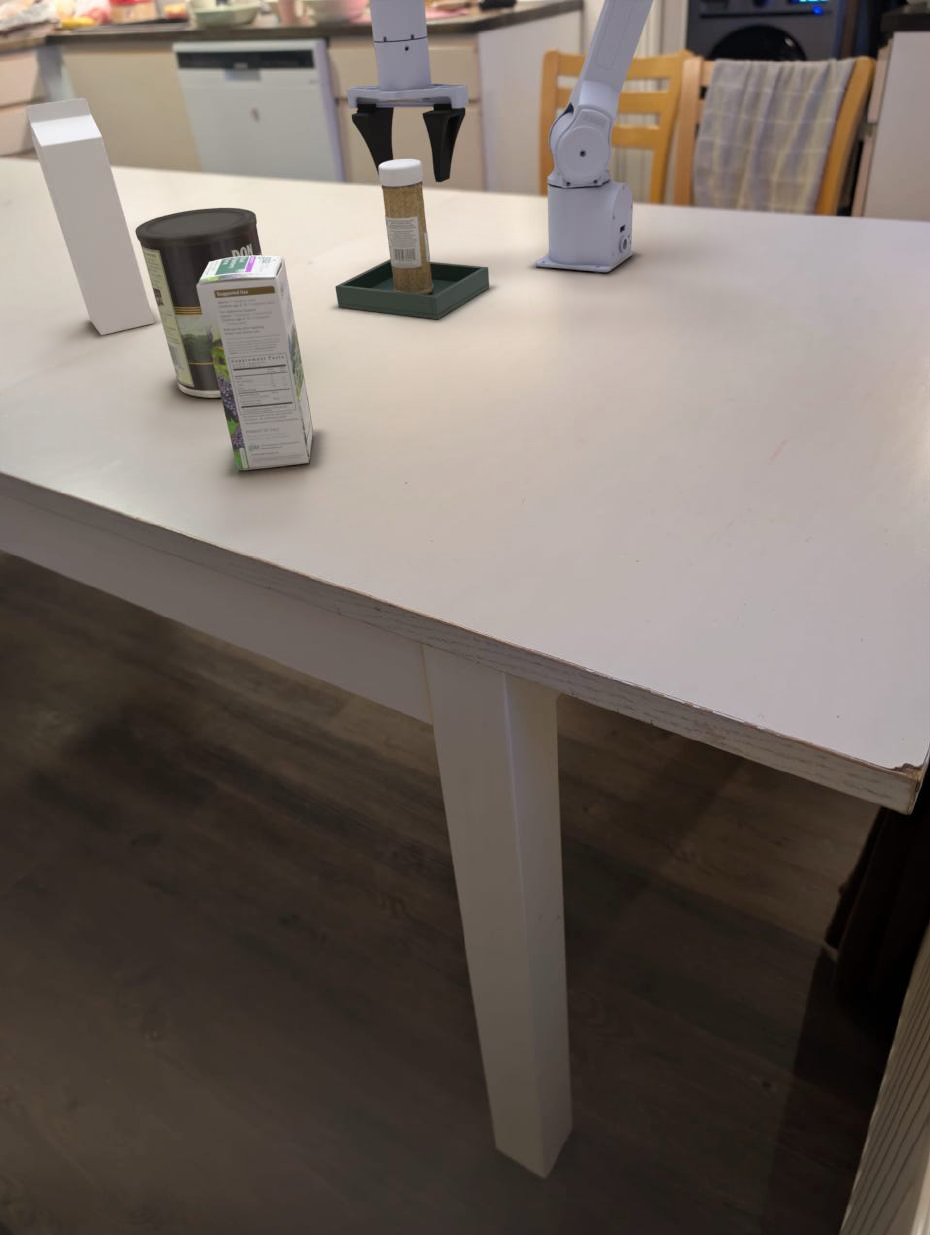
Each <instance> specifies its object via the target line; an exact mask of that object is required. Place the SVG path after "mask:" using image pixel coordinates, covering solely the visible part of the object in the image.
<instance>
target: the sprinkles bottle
mask: <svg viewBox="0 0 930 1235" xmlns="http://www.w3.org/2000/svg"><path fill="white" fill-rule="evenodd" d="M378 169H379V175H378V178H379V184H380V185H381V186H380V187H381V189H382V197H383V204H384V206H383V207H384V215H385V216H384V219H385V227H386V235H387V236H386V237H387V243H388V251H389V259H390V260H391V265H392V271H393V280H394V291H397V292H406V293H415V294H424V295H428V294H430V293H431V292H432V291H433V284H432V278H431V268H430V262H431V253H430V244H429V235H428V229H427V219H426V211H425V199H424V191H423V181H424V171H423V165H422V161H421V160H419V159H417V158H416V159H415V158H399V159H393V160H391V161H387V162H384V163H381V164H380V165H379V168H378Z"/></svg>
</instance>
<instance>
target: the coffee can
mask: <svg viewBox="0 0 930 1235" xmlns="http://www.w3.org/2000/svg"><path fill="white" fill-rule="evenodd" d="M257 224H258V220H257V215H256V213H255V212H254V211H252V210H249V209H245V208H241V207H212V208H211V207H209V208H199V209H191V210H184V211H179V212H175V213H170V214H166V215H162V216H158V217H154V218H152V219H149V220H147V221H145V222H143V223H141V224H139V225H138V226H137V227H136V228H135V231H134V232H135V235H136V238H137V240H138V242H139V243H140V247H141V250H142V255H143V258H144V262H145V266H146V269H147V273H148V277H149V281H150V285H151V288H152V292H153V295H154V299H155V302H156V307H157V309H158V313H159V317H160V321H161V325H162V328H163V331H164V332H163V333H164V336H165V339H166V343H167V346H168V350H169V354H170V358H171V360H172V365H173V368H174V373H175V377H176V380H177V387H178V389H179V390H180V391H181V392H182V393H184V394H186V395H188V396H192V397H196V398H208V399H218V398H220V399H221V394H220V390H219V386H218V381H217V376H216V372H215V368H214V364H213V359H212V354H211V350H210V346H209V341H208V337H207V332H206V328H205V323H204V318H203V314H202V310H201V305H200V301H199V297H198V292H197V287H196V286H197V284H198V282H199V280H200V278H201V277H202V275H203V273H204V271H205V269H206V267H207V265H208V263H209V262H211V261H215V260H219V259H224V258H230V257H238V256H252V255H263V253H262V248H261V243H260V238H259V233H258V228H257V227H258V226H257Z"/></svg>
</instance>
